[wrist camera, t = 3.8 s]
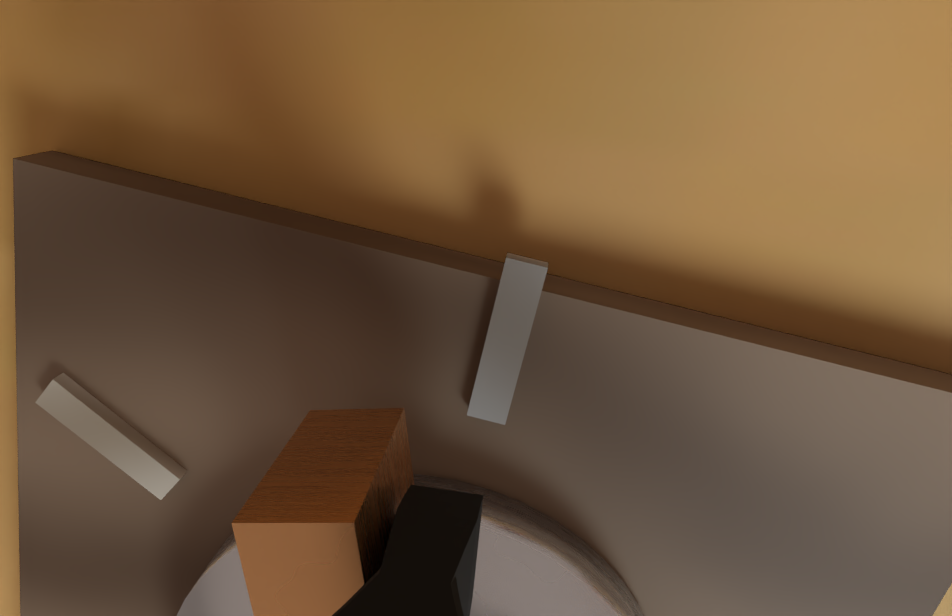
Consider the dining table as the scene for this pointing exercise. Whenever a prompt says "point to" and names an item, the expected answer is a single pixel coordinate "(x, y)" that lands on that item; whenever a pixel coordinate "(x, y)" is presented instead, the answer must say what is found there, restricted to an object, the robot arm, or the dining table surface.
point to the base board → (441, 407)
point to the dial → (385, 534)
